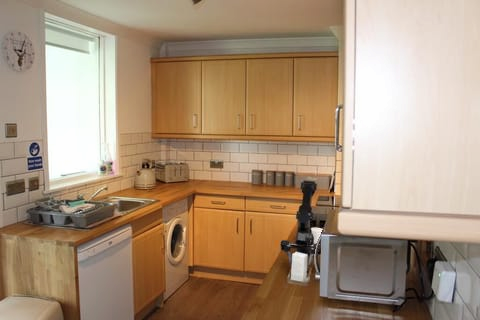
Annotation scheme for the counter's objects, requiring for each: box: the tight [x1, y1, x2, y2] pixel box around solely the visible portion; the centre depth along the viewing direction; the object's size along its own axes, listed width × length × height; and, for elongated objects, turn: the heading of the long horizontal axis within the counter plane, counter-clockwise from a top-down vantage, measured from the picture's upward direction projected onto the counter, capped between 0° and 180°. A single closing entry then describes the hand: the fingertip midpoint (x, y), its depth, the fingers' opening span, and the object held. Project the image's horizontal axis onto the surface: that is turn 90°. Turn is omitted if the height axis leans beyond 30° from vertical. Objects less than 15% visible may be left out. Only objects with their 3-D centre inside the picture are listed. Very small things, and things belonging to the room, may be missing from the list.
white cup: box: [310, 227, 324, 246], centre depth 236 cm, size 8×8×10 cm
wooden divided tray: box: [286, 265, 313, 287], centre depth 196 cm, size 18×10×2 cm, turn 166°
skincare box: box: [290, 251, 309, 282], centre depth 192 cm, size 6×4×12 cm
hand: (299, 264), depth 190 cm, fingers open, 8 cm apart
